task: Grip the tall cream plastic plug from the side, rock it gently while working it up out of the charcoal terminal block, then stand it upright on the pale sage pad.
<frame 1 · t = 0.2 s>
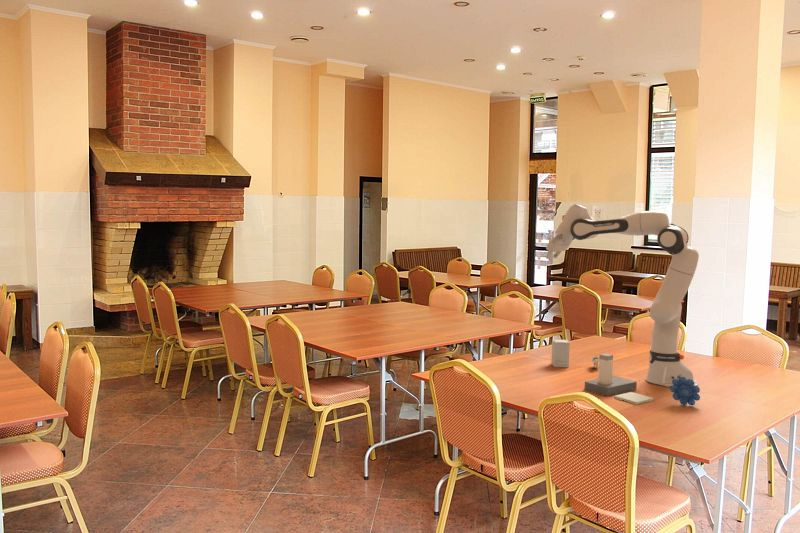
hand: (551, 258, 339), 54 cm above the table, tool tilted 30°, fingers open, 8 cm apart
grapes: (684, 406, 276), on the table
supplement box: (559, 366, 341), on the table
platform: (595, 369, 337), on the table
terminal block: (610, 389, 299), on the table
cream plug: (604, 390, 297), resting in terminal block
sage pad: (633, 399, 284), on the table
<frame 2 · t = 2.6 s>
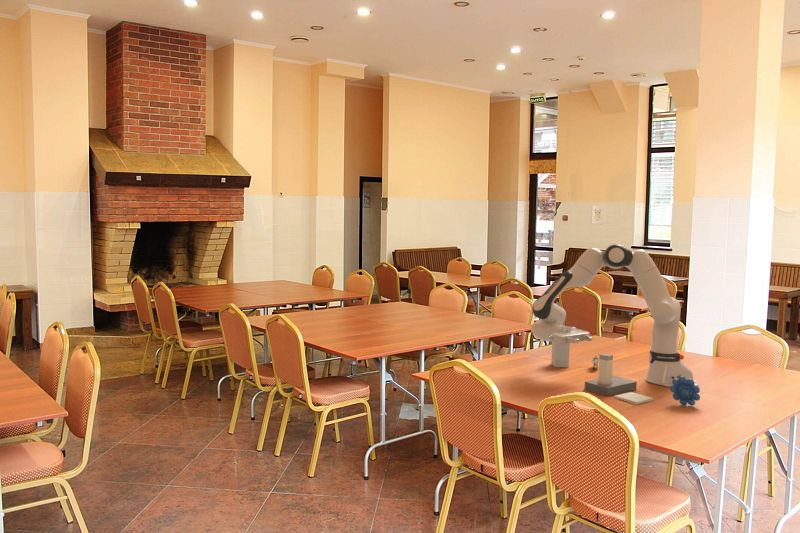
hand: (584, 340, 305), 20 cm above the table, tool horizontal, fingers open, 8 cm apart
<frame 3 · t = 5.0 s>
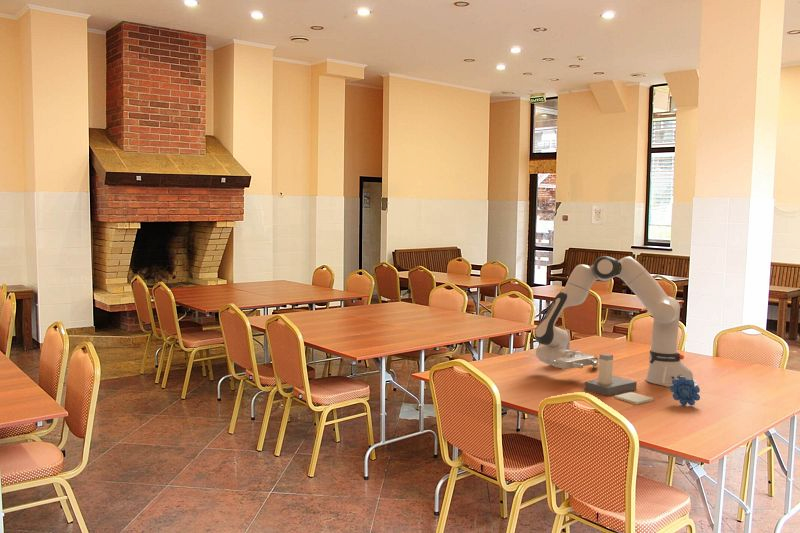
hand: (589, 365, 303), 9 cm above the table, tool horizontal, fingers open, 8 cm apart
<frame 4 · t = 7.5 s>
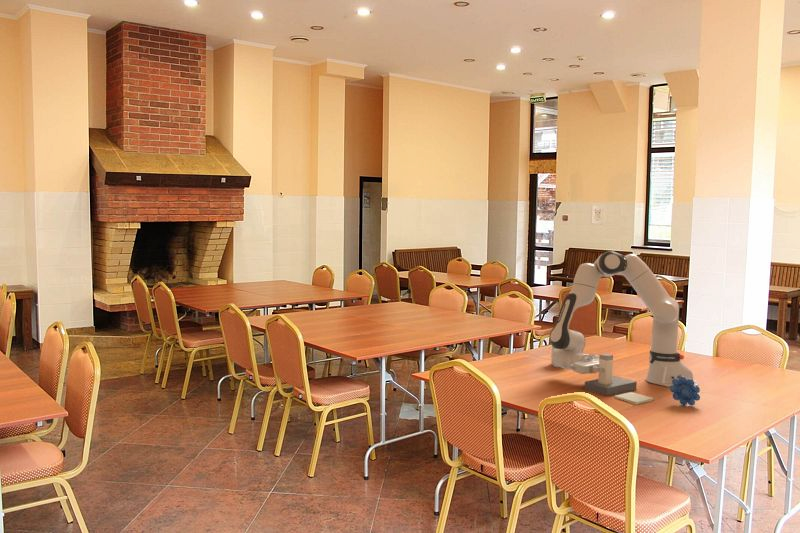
hand: (607, 369, 295), 10 cm above the table, tool horizontal, fingers closed on cream plug, 4 cm apart
cream plug: (604, 390, 297), resting in terminal block, touching gripper
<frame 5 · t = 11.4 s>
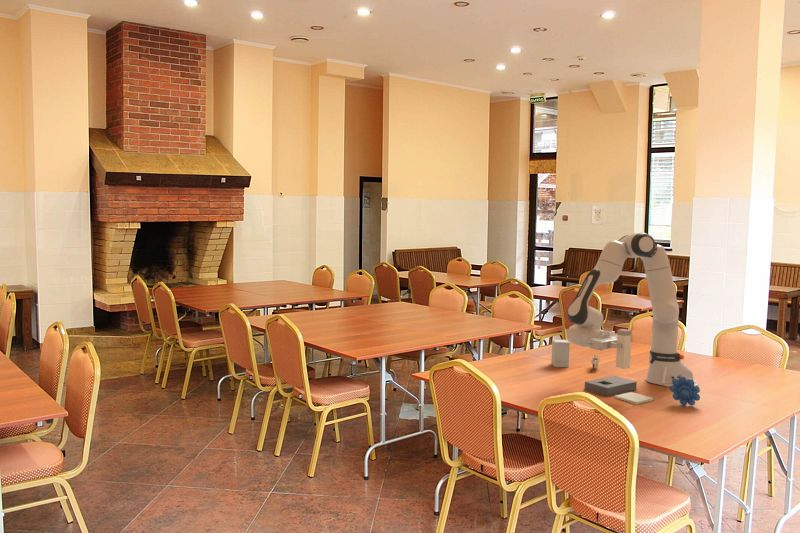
hand: (625, 345, 287), 22 cm above the table, tool horizontal, fingers closed on cream plug, 4 cm apart
cream plug: (622, 367, 288), point 12 cm above the table, touching gripper
when the fingers open (11 cm above the table, at t = 15.3 s): cream plug stays where it is, resting on sage pad.
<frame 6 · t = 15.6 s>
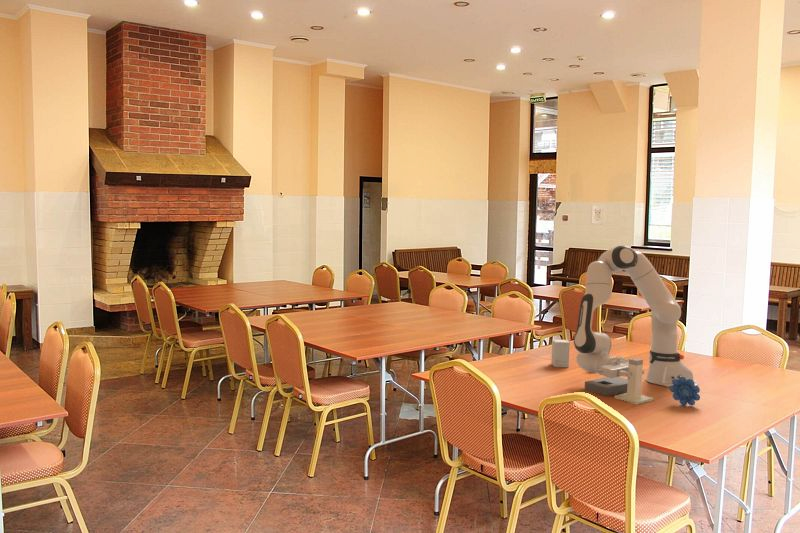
hand: (636, 373, 283), 11 cm above the table, tool horizontal, fingers open, 7 cm apart
cream plug: (633, 396, 284), point 1 cm above the table, touching sage pad
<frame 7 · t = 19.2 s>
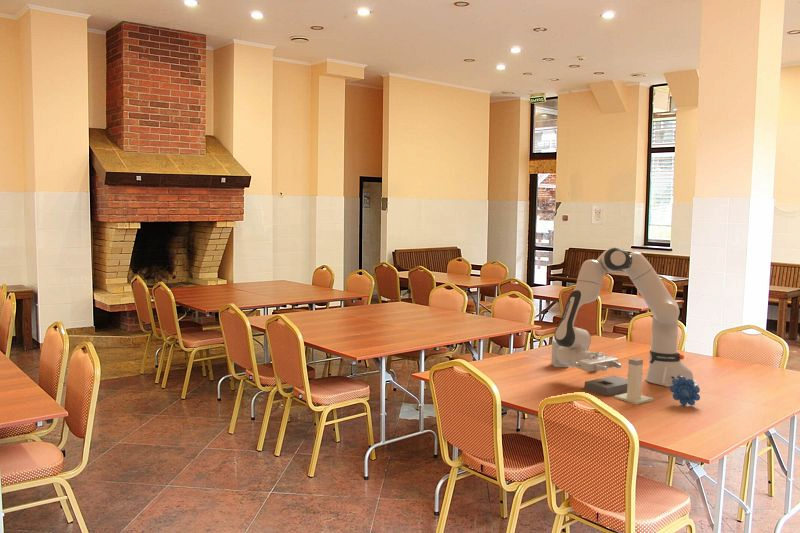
hand: (613, 367, 292), 11 cm above the table, tool horizontal, fingers open, 8 cm apart
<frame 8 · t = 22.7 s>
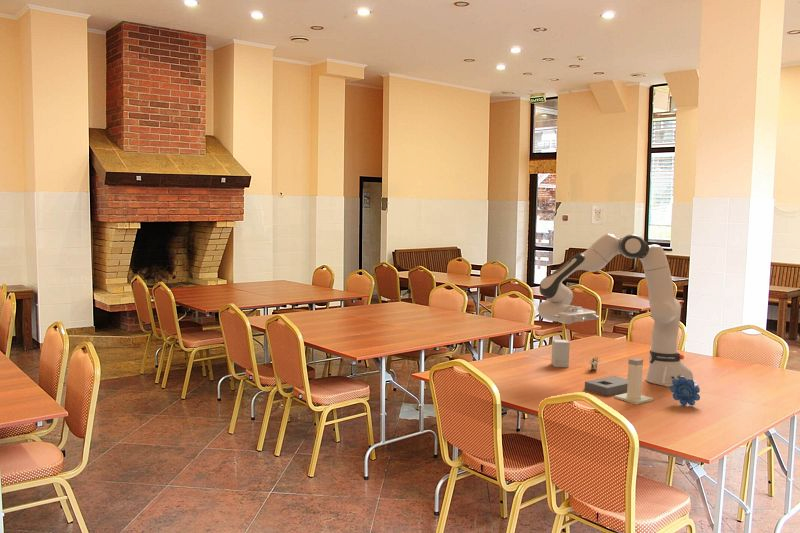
hand: (590, 318, 303), 30 cm above the table, tool horizontal, fingers open, 8 cm apart
at the end: cream plug inside the target area on the sage pad (0.0 cm from its centre), point 1.0 cm above the sage pad's base; cream plug tilted 0°; the gripper is holding nothing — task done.
